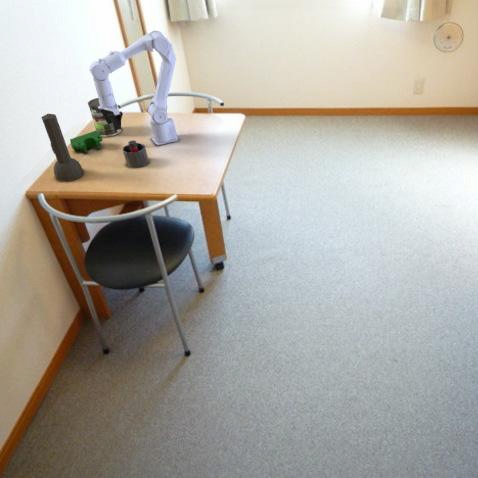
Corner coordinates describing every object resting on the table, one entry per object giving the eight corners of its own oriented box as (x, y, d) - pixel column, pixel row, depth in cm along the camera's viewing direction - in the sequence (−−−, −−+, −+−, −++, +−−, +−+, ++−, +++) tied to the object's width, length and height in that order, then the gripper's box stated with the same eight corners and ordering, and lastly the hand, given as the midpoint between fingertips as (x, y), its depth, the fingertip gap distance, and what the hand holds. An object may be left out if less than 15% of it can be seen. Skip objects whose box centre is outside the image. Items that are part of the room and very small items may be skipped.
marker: (140, 158, 197) (135, 139, 192) (142, 162, 195) (137, 142, 190) (132, 160, 196) (127, 141, 191) (134, 163, 194) (129, 144, 189)
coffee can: (110, 138, 213) (101, 107, 204) (91, 134, 216) (82, 104, 207) (126, 129, 220) (118, 99, 212) (108, 125, 224) (99, 95, 215)
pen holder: (145, 155, 201) (141, 141, 197) (151, 164, 195) (147, 149, 191) (124, 160, 197) (120, 146, 193) (129, 169, 191) (125, 154, 187)
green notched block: (86, 162, 205) (74, 149, 197) (78, 155, 207) (66, 142, 199) (108, 144, 208) (98, 131, 200) (101, 137, 210) (90, 123, 202)
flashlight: (83, 166, 193) (56, 171, 191) (63, 106, 178) (33, 110, 175) (83, 178, 186) (55, 183, 183) (62, 116, 171) (31, 121, 168)
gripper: (87, 91, 192) (97, 123, 201) (103, 101, 184) (112, 135, 192) (105, 86, 196) (114, 118, 204) (120, 97, 188) (129, 129, 196)
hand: (114, 126), depth 199 cm, fingers open, 7 cm apart
